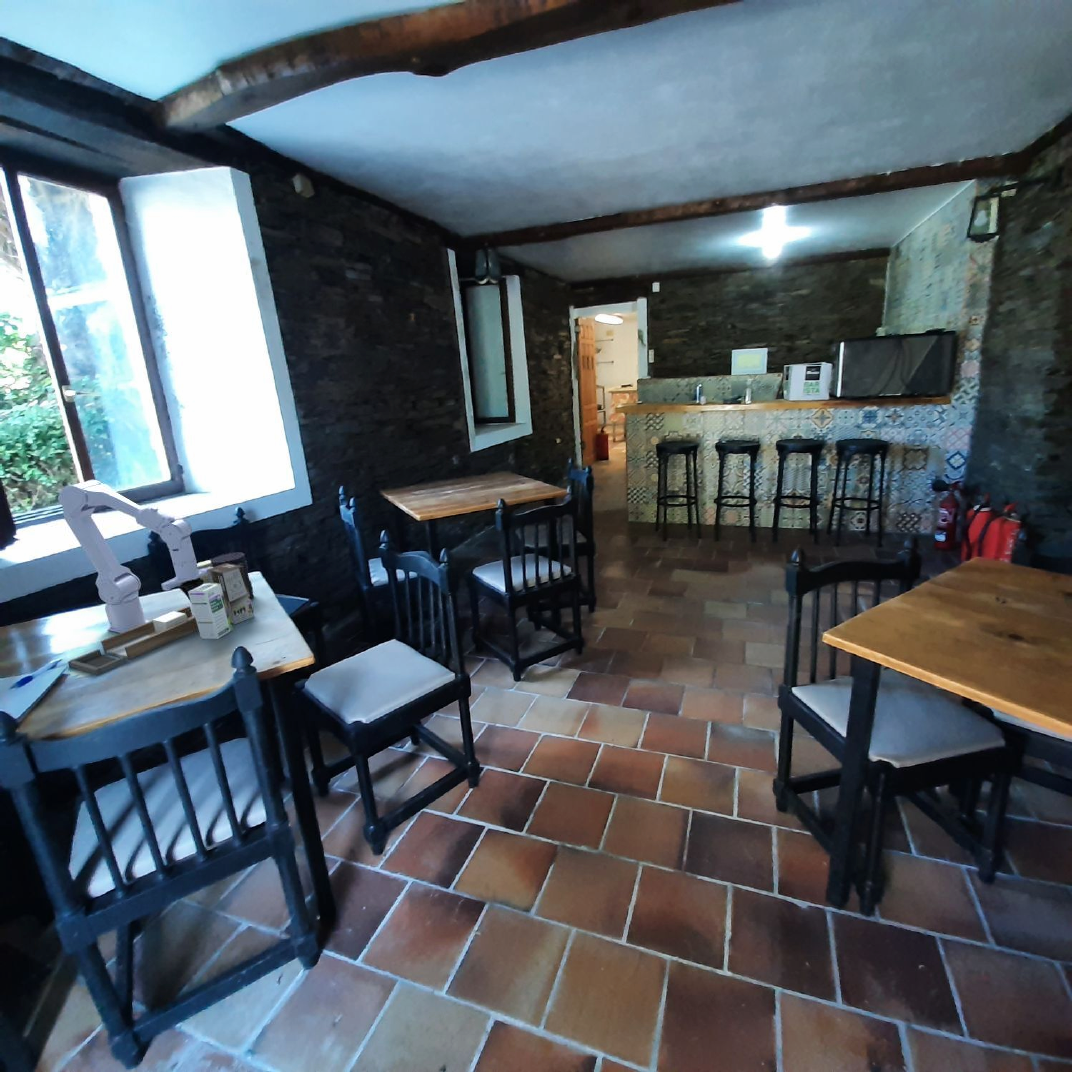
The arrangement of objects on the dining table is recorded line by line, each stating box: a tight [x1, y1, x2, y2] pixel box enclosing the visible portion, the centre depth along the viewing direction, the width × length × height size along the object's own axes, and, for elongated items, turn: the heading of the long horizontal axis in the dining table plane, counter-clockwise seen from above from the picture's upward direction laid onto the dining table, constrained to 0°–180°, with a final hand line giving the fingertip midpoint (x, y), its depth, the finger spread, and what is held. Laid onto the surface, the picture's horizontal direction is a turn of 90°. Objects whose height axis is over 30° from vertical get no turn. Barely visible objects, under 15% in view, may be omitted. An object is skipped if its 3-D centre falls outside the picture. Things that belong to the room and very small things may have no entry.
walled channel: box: [100, 605, 199, 661], centre depth 156 cm, size 12×24×4 cm, turn 154°
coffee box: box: [207, 563, 255, 625], centre depth 163 cm, size 9×6×16 cm
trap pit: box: [67, 648, 128, 676], centre depth 142 cm, size 13×7×2 cm, turn 64°
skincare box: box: [197, 559, 212, 584], centre depth 182 cm, size 6×4×12 cm
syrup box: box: [188, 583, 234, 640], centre depth 153 cm, size 6×6×14 cm
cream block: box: [152, 610, 188, 633], centre depth 158 cm, size 6×6×4 cm
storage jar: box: [210, 551, 255, 601], centre depth 178 cm, size 10×10×15 cm
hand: (196, 604), depth 164 cm, fingers closed
